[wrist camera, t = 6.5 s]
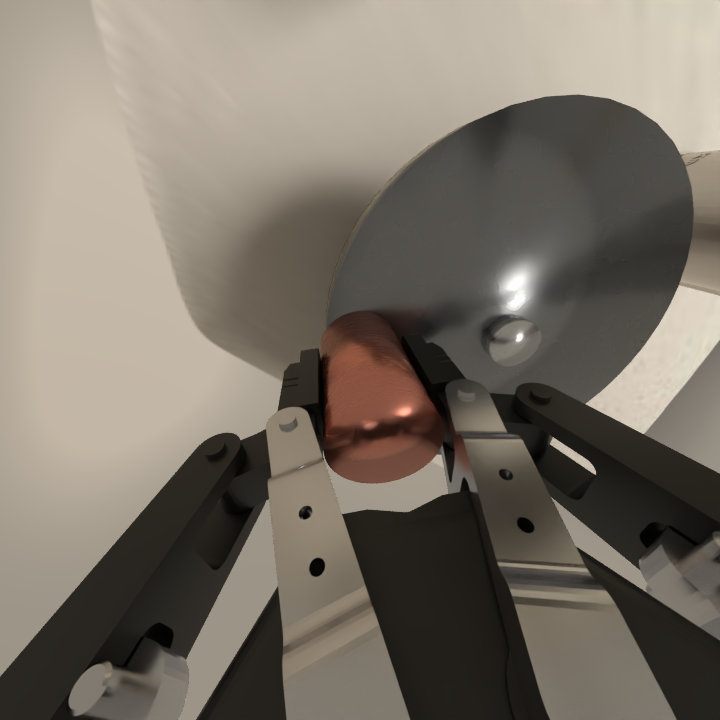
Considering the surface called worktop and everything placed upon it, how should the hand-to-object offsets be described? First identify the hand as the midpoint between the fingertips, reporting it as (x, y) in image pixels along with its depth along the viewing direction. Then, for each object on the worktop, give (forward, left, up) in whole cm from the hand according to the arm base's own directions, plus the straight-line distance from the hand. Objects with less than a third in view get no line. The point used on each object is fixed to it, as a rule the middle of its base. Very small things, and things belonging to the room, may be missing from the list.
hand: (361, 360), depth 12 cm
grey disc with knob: (-5, -5, -3) cm, 8 cm away
